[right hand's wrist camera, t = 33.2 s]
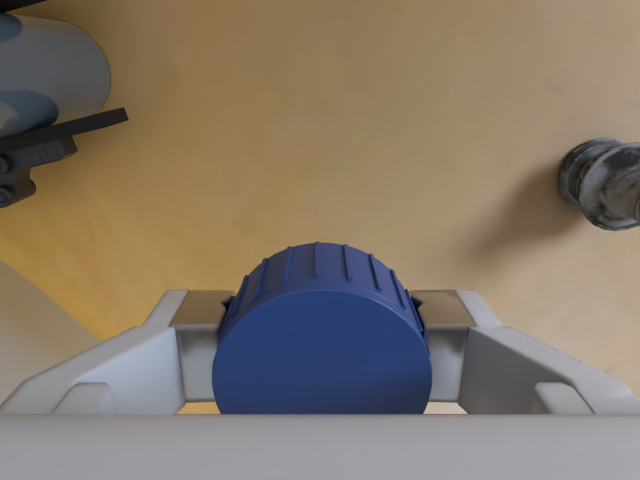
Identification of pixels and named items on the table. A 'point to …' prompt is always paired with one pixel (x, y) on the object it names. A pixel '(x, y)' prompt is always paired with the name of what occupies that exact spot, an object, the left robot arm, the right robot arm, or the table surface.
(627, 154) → the grey tapered ringed piece
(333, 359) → the cap
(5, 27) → the bottle
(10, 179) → the left robot arm
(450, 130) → the table surface
